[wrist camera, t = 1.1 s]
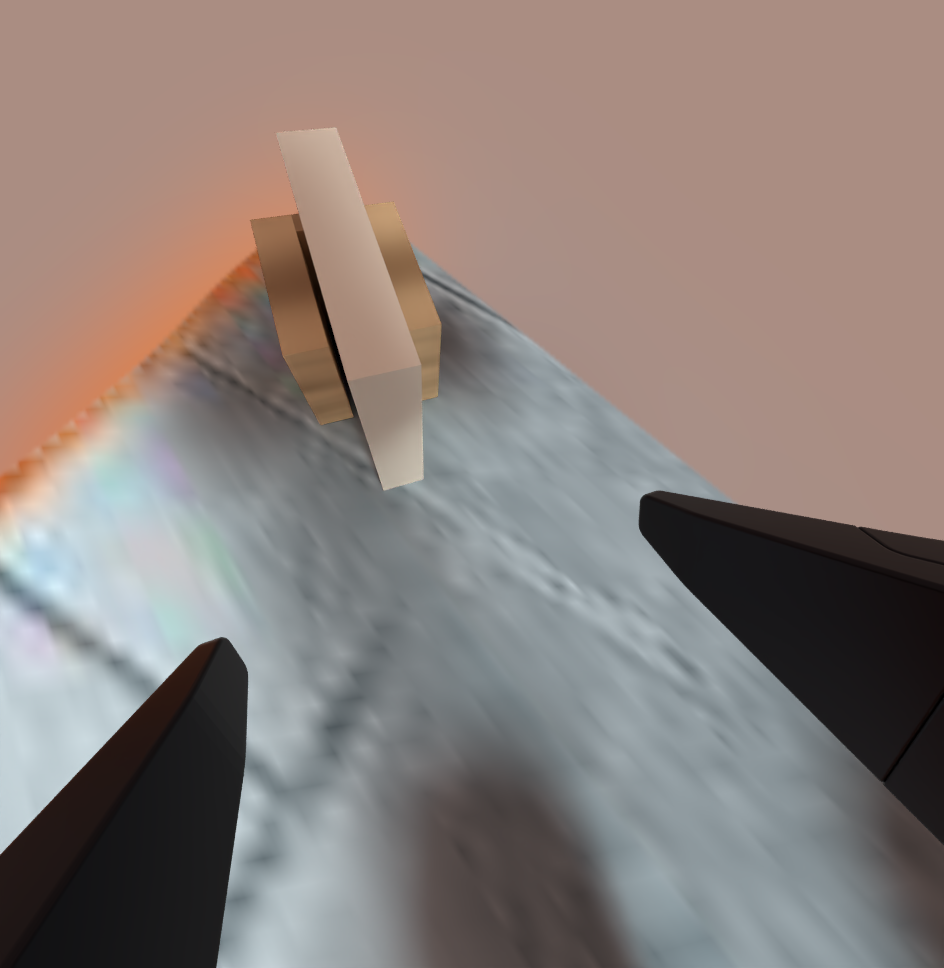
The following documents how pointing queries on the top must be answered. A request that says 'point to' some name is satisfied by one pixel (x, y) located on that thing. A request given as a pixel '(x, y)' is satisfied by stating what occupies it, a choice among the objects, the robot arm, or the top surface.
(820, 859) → the top surface
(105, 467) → the top surface
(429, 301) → the oak box
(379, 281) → the cover plate
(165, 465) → the top surface
